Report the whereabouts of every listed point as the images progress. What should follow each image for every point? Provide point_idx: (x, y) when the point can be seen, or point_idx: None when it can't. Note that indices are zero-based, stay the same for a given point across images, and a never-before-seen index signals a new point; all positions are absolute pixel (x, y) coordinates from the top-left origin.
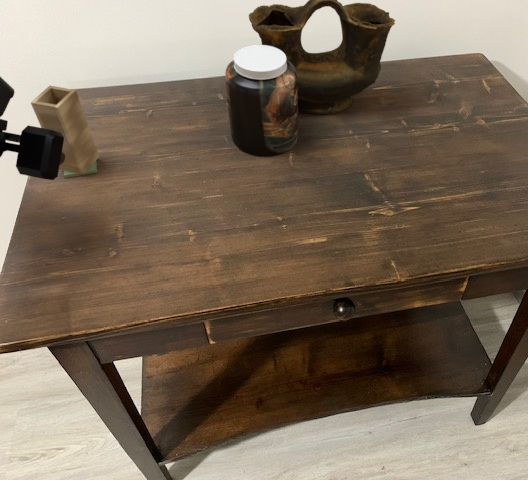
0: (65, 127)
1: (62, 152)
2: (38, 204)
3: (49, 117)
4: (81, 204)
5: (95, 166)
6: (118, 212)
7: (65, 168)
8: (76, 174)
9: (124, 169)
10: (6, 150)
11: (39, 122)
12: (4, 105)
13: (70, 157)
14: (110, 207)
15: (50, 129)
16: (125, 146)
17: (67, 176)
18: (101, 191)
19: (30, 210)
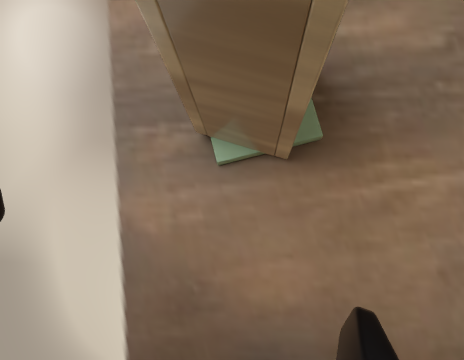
0: (322, 63)
1: (397, 357)
2: (162, 296)
3: (228, 1)
4: (308, 303)
5: (316, 118)
6: (452, 354)
7: (220, 136)
8: (257, 153)
9: (411, 124)
10: (1, 216)
11: (144, 15)
12: None
13: (261, 129)
14: (416, 325)
15: (208, 52)
16: (382, 7)
17: (228, 162)
18: (361, 237)
19: (143, 326)
